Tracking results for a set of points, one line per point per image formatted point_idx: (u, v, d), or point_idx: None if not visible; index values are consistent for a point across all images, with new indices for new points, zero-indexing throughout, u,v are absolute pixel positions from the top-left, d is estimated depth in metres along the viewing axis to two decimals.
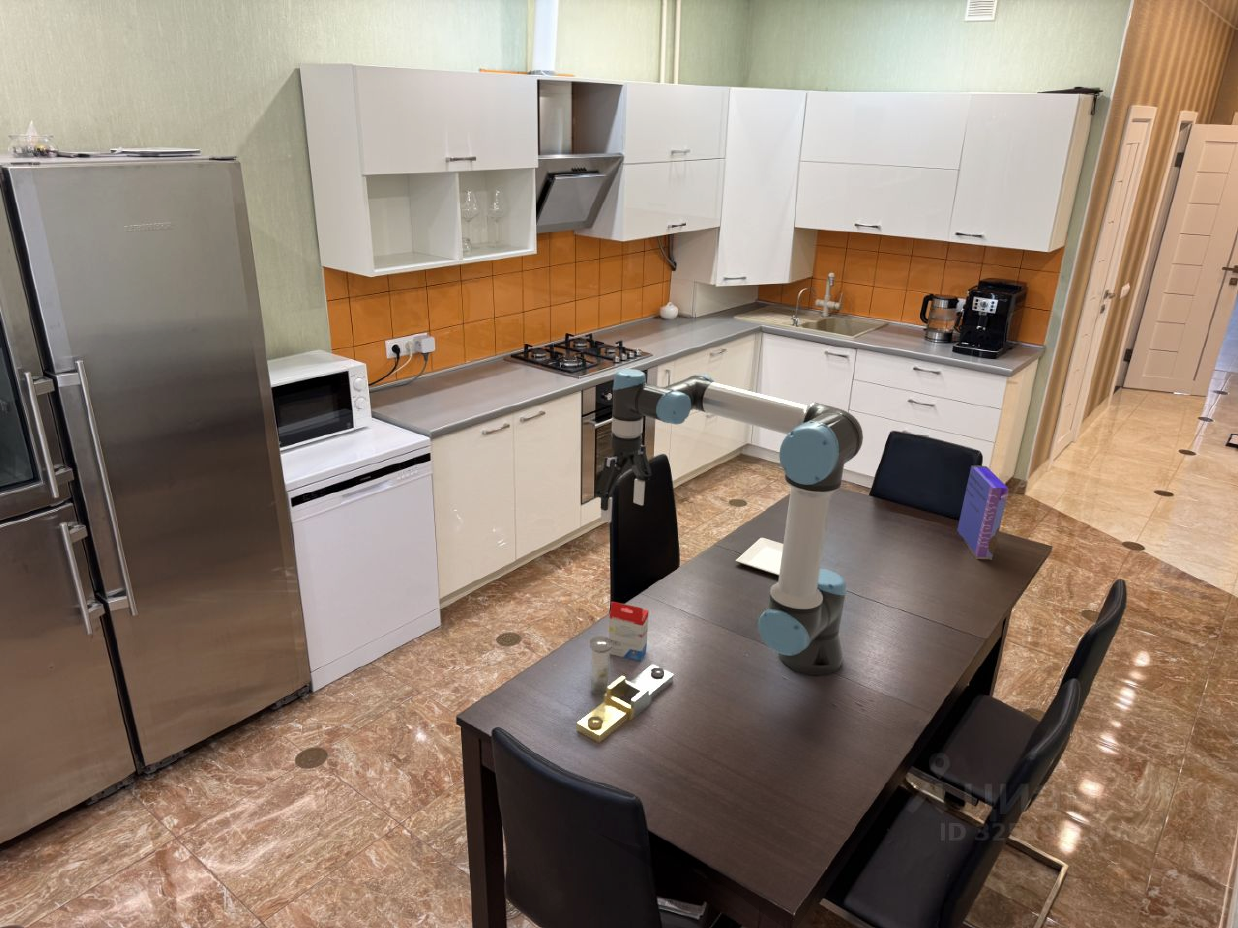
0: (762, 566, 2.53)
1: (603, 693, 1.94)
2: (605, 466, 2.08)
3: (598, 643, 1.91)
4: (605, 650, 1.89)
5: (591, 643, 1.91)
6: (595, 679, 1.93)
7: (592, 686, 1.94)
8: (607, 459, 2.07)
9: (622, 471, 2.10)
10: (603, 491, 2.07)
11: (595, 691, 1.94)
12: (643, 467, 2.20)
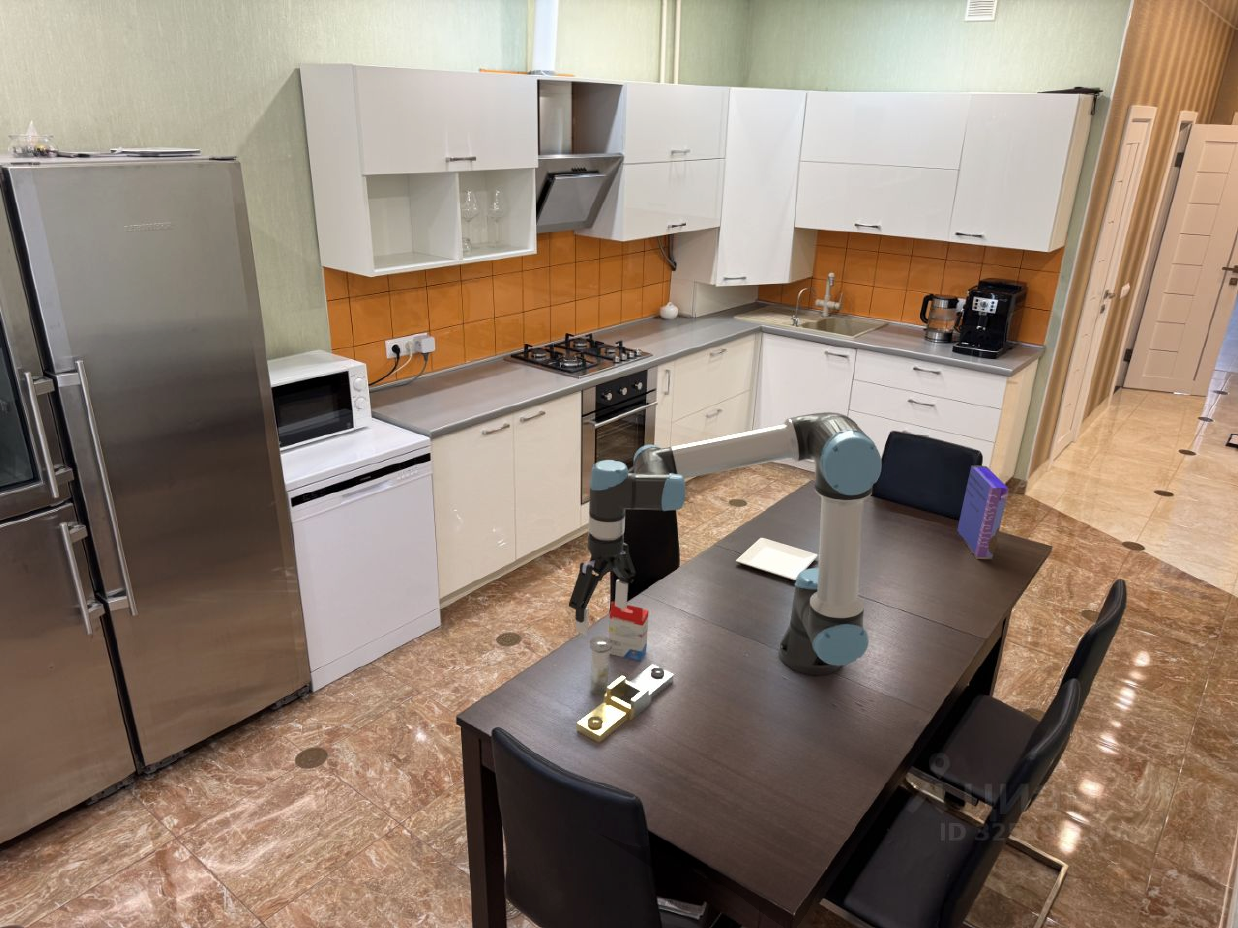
0: (762, 566, 2.53)
1: (603, 693, 1.94)
2: (580, 572, 1.79)
3: (598, 643, 1.91)
4: (605, 650, 1.89)
5: (591, 643, 1.91)
6: (595, 679, 1.93)
7: (592, 686, 1.94)
8: (583, 565, 1.78)
9: (600, 577, 1.81)
10: (578, 602, 1.78)
11: (595, 691, 1.94)
12: (626, 567, 1.91)
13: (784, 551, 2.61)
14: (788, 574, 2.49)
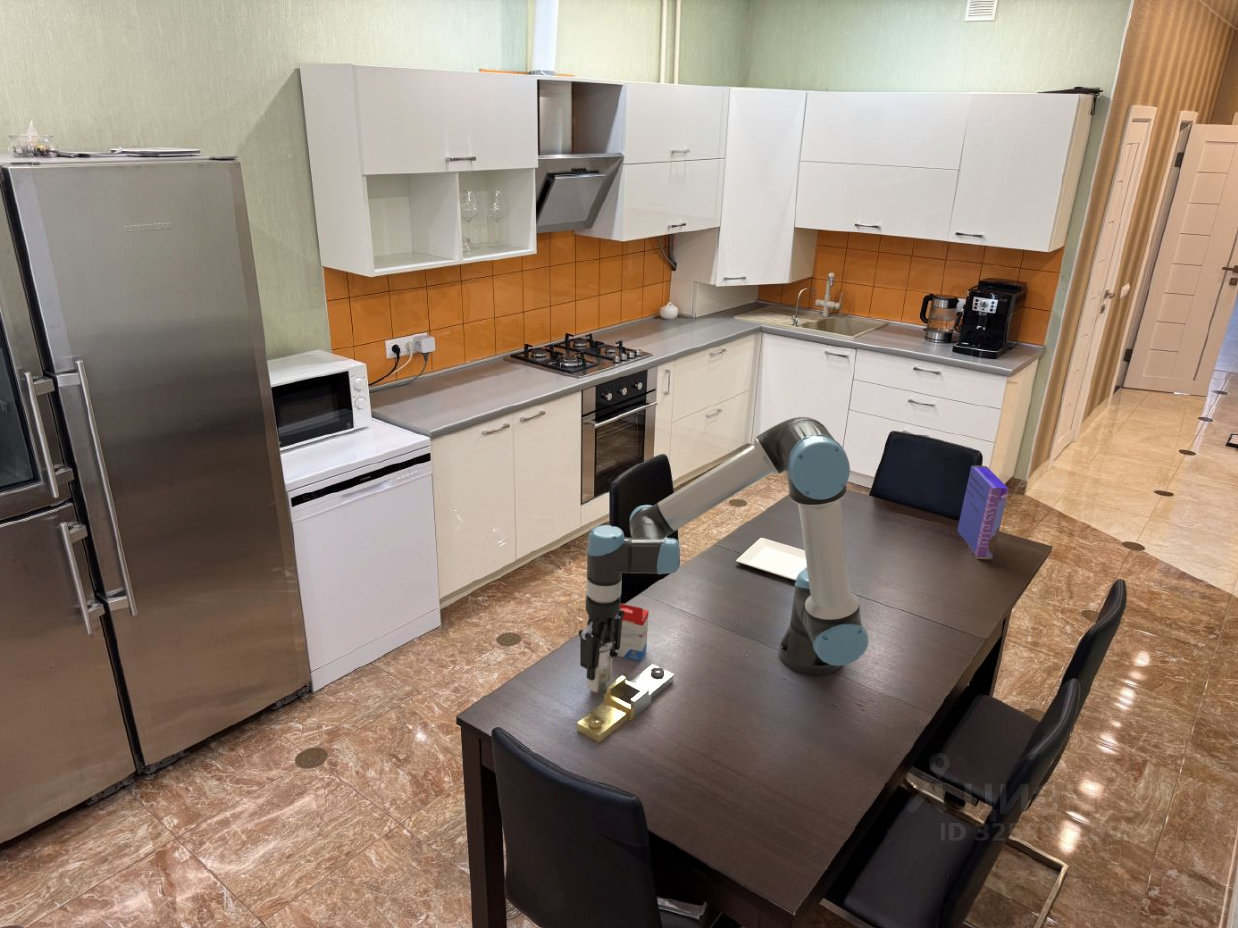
0: (762, 566, 2.53)
1: (603, 693, 1.94)
2: (581, 639, 1.86)
3: None
4: (605, 650, 1.89)
5: None
6: None
7: None
8: (581, 634, 1.84)
9: (602, 638, 1.88)
10: (587, 664, 1.87)
11: None
12: (614, 637, 1.95)
13: (784, 551, 2.61)
14: (788, 574, 2.49)
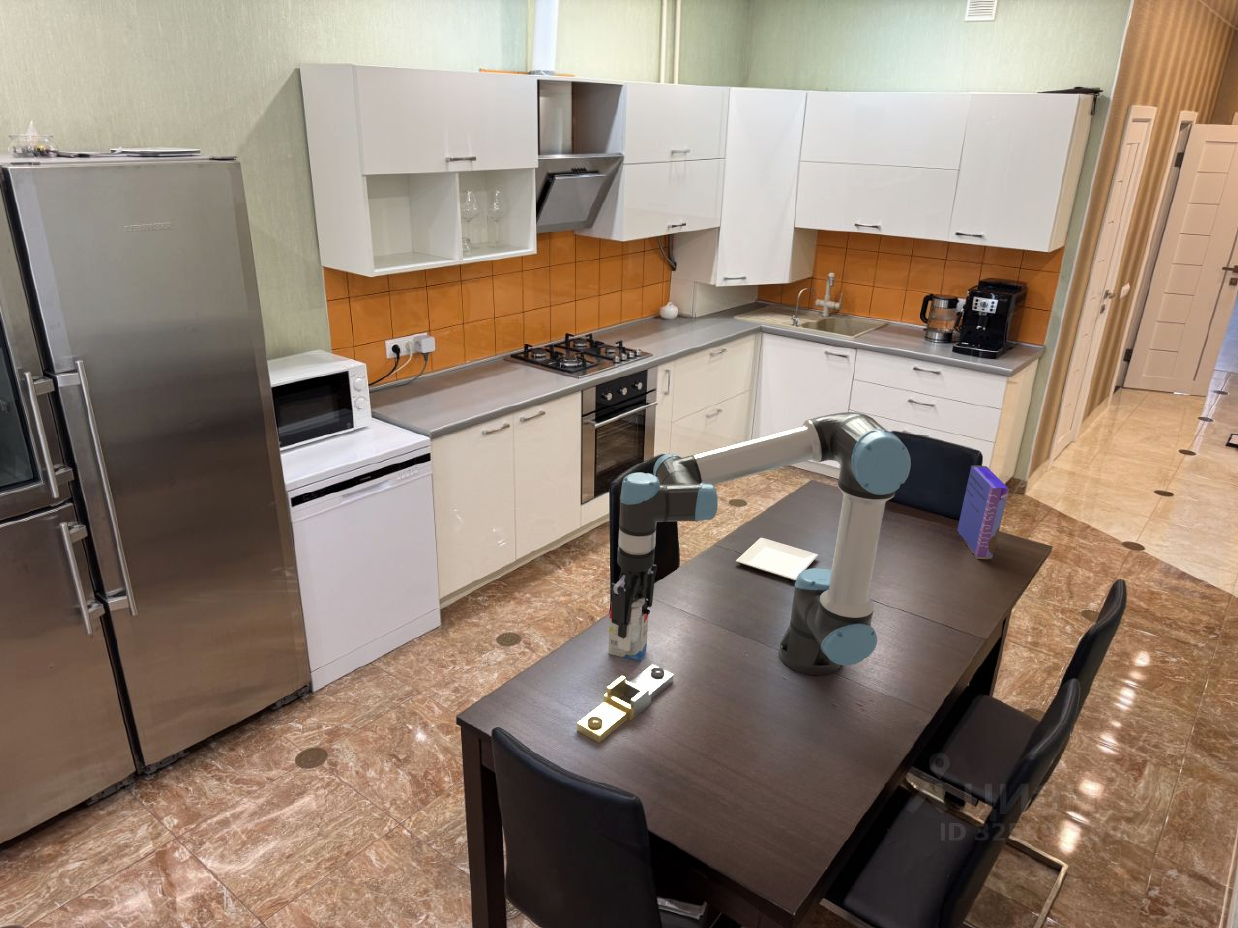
0: (762, 566, 2.53)
1: (634, 652, 1.84)
2: (613, 593, 1.76)
3: None
4: (637, 606, 1.79)
5: None
6: None
7: None
8: (613, 587, 1.75)
9: (634, 592, 1.78)
10: (619, 620, 1.77)
11: None
12: (646, 593, 1.85)
13: (784, 551, 2.61)
14: (788, 574, 2.49)
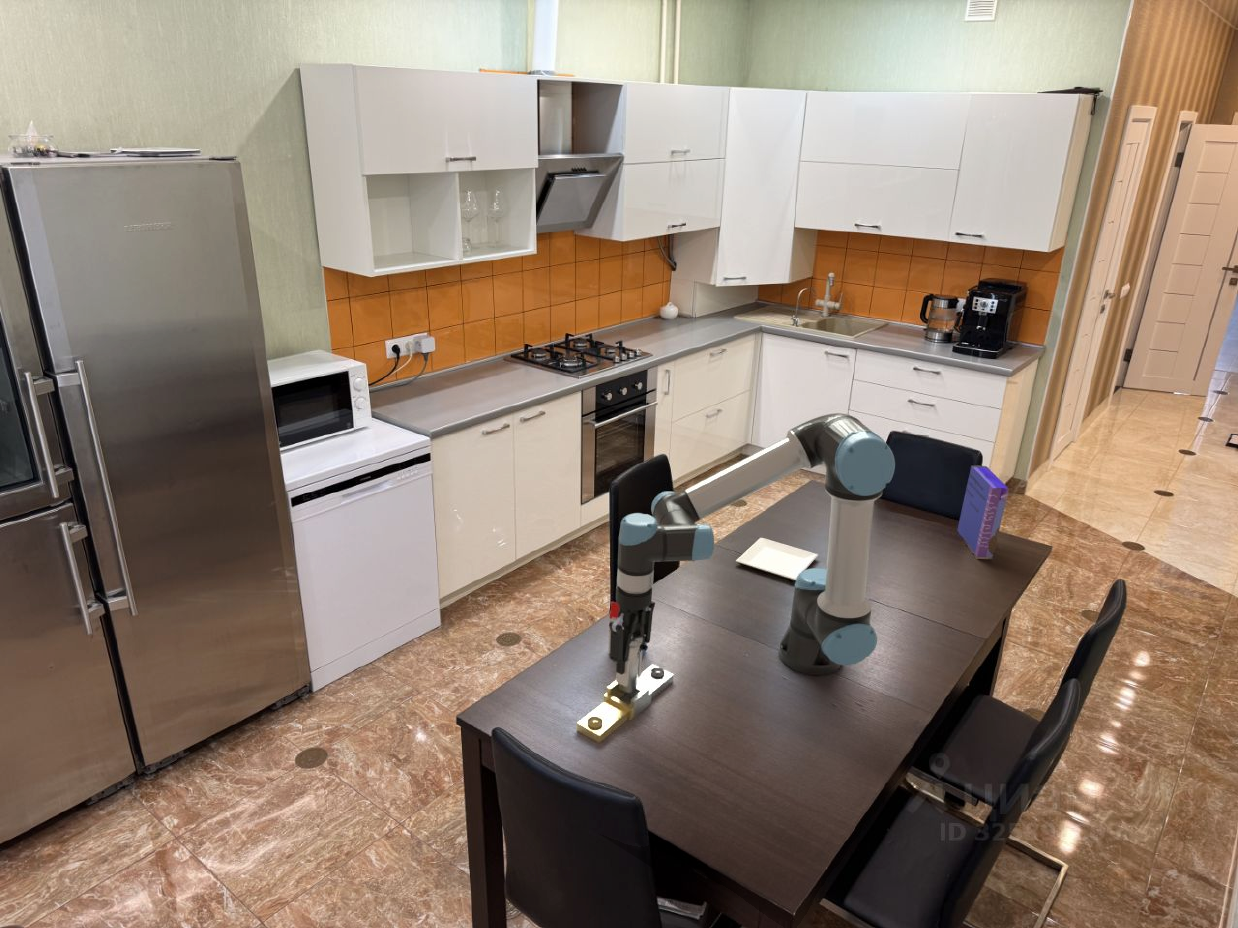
0: (762, 566, 2.52)
1: (632, 690, 1.88)
2: (612, 631, 1.79)
3: None
4: (635, 645, 1.83)
5: None
6: None
7: None
8: (612, 625, 1.78)
9: (633, 630, 1.81)
10: (618, 657, 1.81)
11: (624, 688, 1.88)
12: (644, 629, 1.88)
13: (784, 551, 2.61)
14: (788, 574, 2.49)
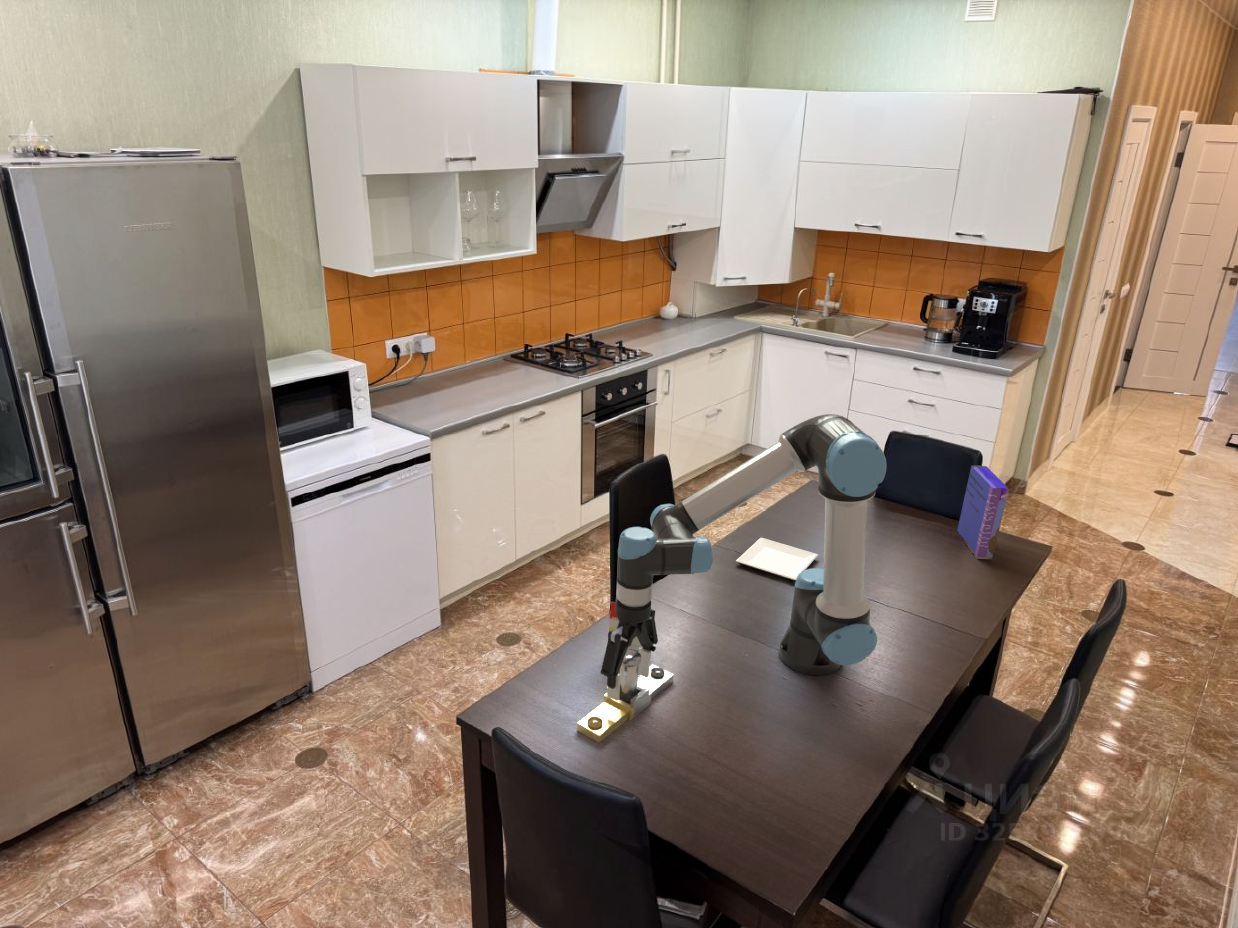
0: (762, 566, 2.52)
1: None
2: (609, 641, 1.79)
3: (627, 657, 1.86)
4: (634, 664, 1.85)
5: None
6: (623, 694, 1.89)
7: None
8: (611, 634, 1.79)
9: (629, 643, 1.82)
10: (610, 670, 1.79)
11: None
12: (649, 633, 1.91)
13: (784, 551, 2.61)
14: (788, 574, 2.49)
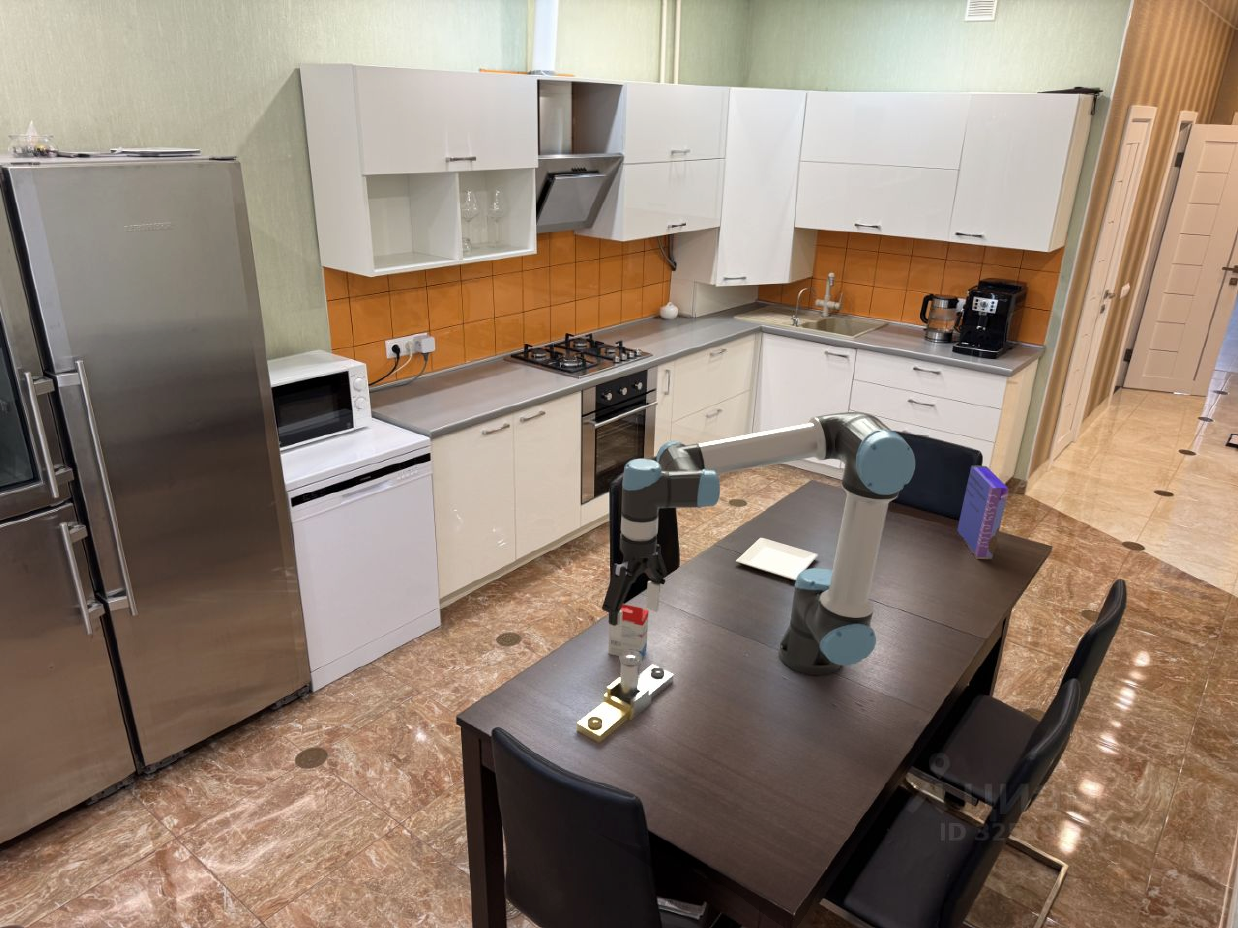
0: (762, 566, 2.52)
1: None
2: (614, 574, 1.74)
3: (628, 657, 1.86)
4: (635, 664, 1.85)
5: (620, 657, 1.86)
6: (624, 694, 1.89)
7: None
8: (616, 566, 1.74)
9: (634, 579, 1.76)
10: (612, 605, 1.73)
11: None
12: (658, 568, 1.87)
13: (784, 551, 2.61)
14: (788, 574, 2.49)
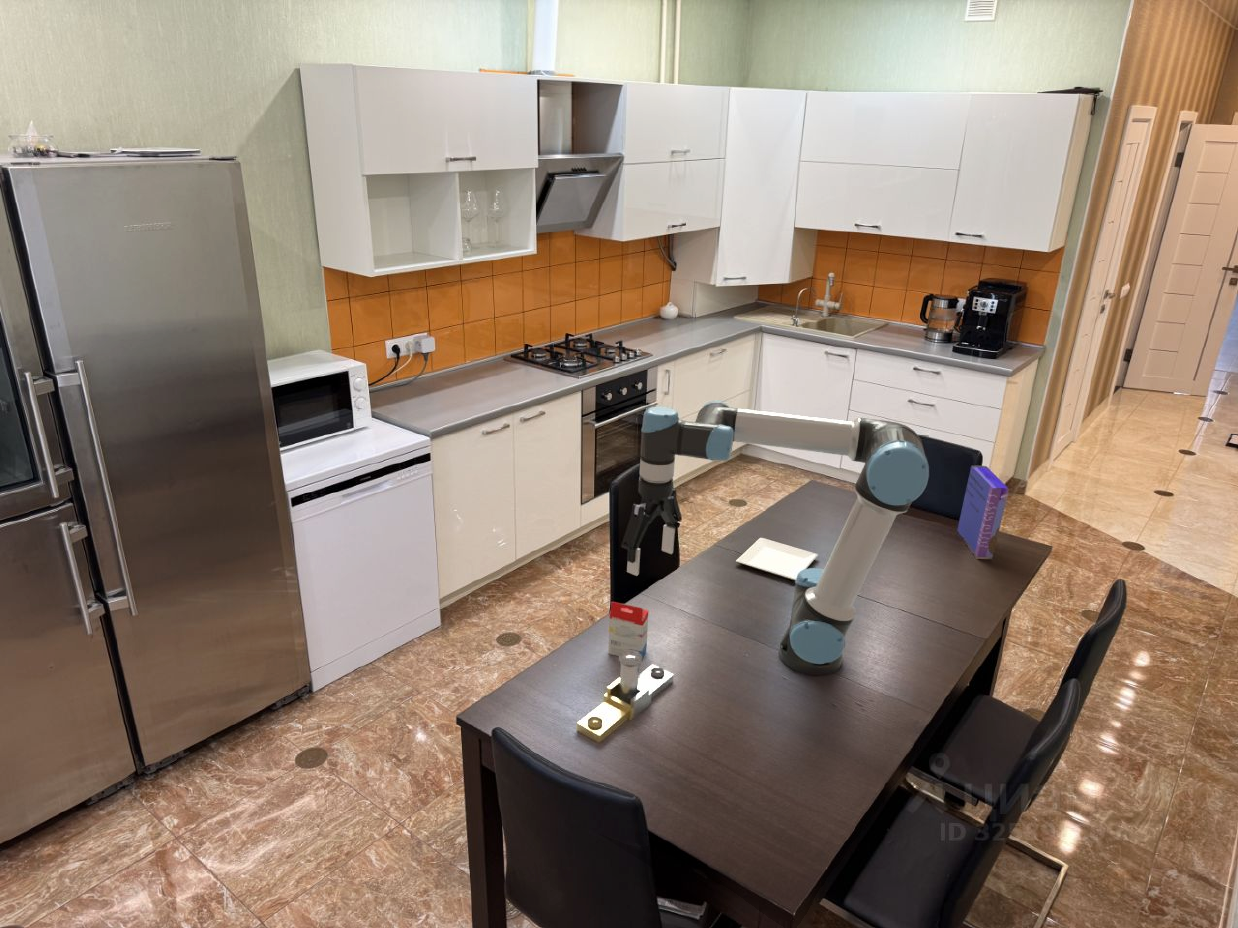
0: (762, 566, 2.52)
1: None
2: (633, 514, 1.87)
3: (627, 657, 1.86)
4: (635, 664, 1.85)
5: (620, 657, 1.86)
6: (624, 694, 1.89)
7: None
8: (635, 506, 1.86)
9: (651, 519, 1.89)
10: (630, 542, 1.86)
11: None
12: (673, 512, 1.99)
13: (784, 551, 2.61)
14: (788, 574, 2.49)
